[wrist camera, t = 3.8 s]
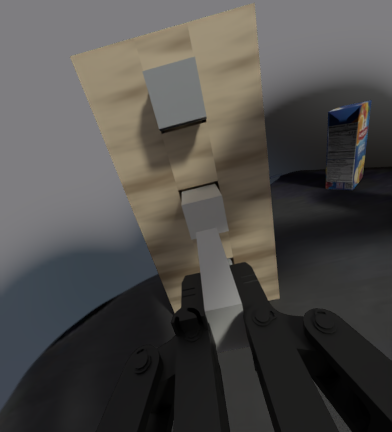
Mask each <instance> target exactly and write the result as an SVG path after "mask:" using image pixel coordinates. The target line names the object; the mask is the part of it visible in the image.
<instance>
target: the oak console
mask: <svg viewBox="0 0 392 432" xmlns="http://www.w3.org/2000/svg"><path fill="white" fill-rule="evenodd" d="M191 57H195V60H196V65H197V70H198V75H199V80H200V85H201V90H202V96H203V101H204V106H205V111H206V117H207V119H205V120H201V121H197V122H193V123H190V124H186V125H182V126H178V127H175V128H171V129H167V130H163V131H160V130H159V127H158V123H157V120H156V117H155V113H154V110H153V106H152V103H151V99H150V96H149V93H148V89H147V86H146V82H145V79H144V75H143V72H142V71H145V70H149V69H152V68H156V67H159V66H163V65H166V64H170V63H173V62H177V61H181V60H184V59H188V58H191ZM70 58H71V60H72V63H73V65H74V68H75V70H76V72H77V75H78V77H79V80H80V82H81V85H82V87H83V90H84V92H85V95H86V97H87V100H88V102H89V104H90V107H91V109H92V112H93V114H94V116H95V119H96V122H97V124H98V126H99V129H100V131H101V134H102V136H103V139H104V141H105V143H106V146H107V149H108V151H109V153H110V156H111V158H112V161H113V163H114V165H115V168H116V171H117V173H118V175H119V178H120V180H121V183H122V185H123V188H124V190H125V193H126V195H127V198H128V200H129V202H130V205H131V207H132V210H133V212H134V215H135V217H136V220H137V222H138V225H139V227H140V229H141V232H142V234H143V237H144V239H145V242H146V244H147V246H148V249H149V252H150V254H151V256H152V259H153V261H154V264H155V266H156V269H157V271H158V274H159V276H160V279H161V281H162V283H163V286H164V288H165V291H166V293H167V296H168V298H169V301H170V303H171V306H172V308H173V310H174V313H176V311H178V310H179V309H180V308H181V292H182V291H181V284H182V281H183V279H184V277H185V276H186V275H191V274H195V273H200V265H199V256H198V247H197V239H193V240H191V237H190V233H189V230H188V226H187V223H186V219H185V216H184V213H183V209H182V206H181V202H182V192H183V191H187V190H191V189H195V188H199V187H203V186H207V185H211V184H216V186H217V188H218V189H219V191H220V193H221V195H222V198H223V204H224V209H225V214H226V219H227V224H228V229H229V231H227V232H223V233H219V236H220V239H221V242H222V245H223V248H224V251H225V254H226V257H227V259H228V258H230V259H231V261H232V264H237V263H241V262H246V263H248V264H249V265H250V266H251V267H252V268H253V270H254V272H255V275H256V277H257V279H258V281H259V283H260V285H261V287H262V289H263V291H264V293H265V295H266V297H267V299H268V301H270V300H274V299H279V298H280V297H279V285H278V273H277V262H276V250H275V238H274V226H273V214H272V203H271V191H270V179H269V167H268V155H267V144H266V133H265V120H264V109H263V98H262V97H263V96H262V85H261V73H260V61H259V49H258V37H257V26H256V14H255V3H253V4H249V5H245V6H242V7H238V8H235V9H232V10H228V11H225V12H221V13H218V14H215V15H211V16H207V17H204V18H201V19H197V20H194V21H190V22H187V23H183V24H180V25H176V26H173V27H170V28H166V29H163V30H159V31H156V32H152V33H149V34H145V35H142V36H139V37H135V38H132V39H128V40H125V41H122V42H118V43H114V44H111V45H108V46H104V47H101V48H97V49H94V50H90V51H87V52H84V53H80V54H77V55H73V56H70Z"/></svg>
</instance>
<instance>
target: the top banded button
mask: <svg viewBox="0 0 392 432" xmlns="http://www.w3.org/2000/svg"><path fill="white" fill-rule="evenodd" d="M142 72H143V75H144V79H145V82H146V86H147V89H148V93H149V96H150V99H151V103H152V106H153V110H154V113H155V117H156V120H157V123H158V127H159V130H160V131H163V130H167V129H171V128H175V127H178V126H182V125H186V124H190V123H193V122H197V121H201V120H205V119H207V117H206V111H205V106H204V101H203V96H202V90H201V85H200V80H199V75H198V70H197V65H196V60H195V57H191V58H188V59H184V60H181V61H177V62H173V63H170V64H166V65H163V66H159V67H156V68H152V69H149V70H145V71H142Z"/></svg>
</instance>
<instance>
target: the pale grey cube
mask: <svg viewBox="0 0 392 432" xmlns="http://www.w3.org/2000/svg"><path fill="white" fill-rule="evenodd" d="M181 206H182V209H183V213H184V216H185V219H186V223H187V226H188V230H189V233H190V237H191V240H193V239H197V238H196V232H200V231H205V230H209V229H213V228H217V230H218V233H223V232H227V231H229V229H228V224H227V219H226V214H225V209H224V204H223V198H222V195H221V193H220V191H219V189H218V188H217V186H216V184H211V185H207V186H203V187H199V188H195V189H191V190H187V191H183V192H182V202H181Z"/></svg>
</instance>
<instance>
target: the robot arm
mask: <svg viewBox="0 0 392 432" xmlns="http://www.w3.org/2000/svg"><path fill="white" fill-rule="evenodd" d="M196 238H197V247H198V256H199V265H200V273H195V274H191V275H186V276H185V277H184V279H183V281H182V284H181V291H182V292H181V308H180V309H179V310H178V311H176V313H175V314H174V316H173V317H172V321H171V324H172V327H173V329H174V332H175V334H176V335H175V336H174V337H173V338H172V339H171V340H170V341H168V342H167V343H165V344H163V345H161V346H160V347H158V348H155V346H152V345H143V346H141V347H139V348H138V349H136V350H135V351H134V352H133V353H132V354H131V355H130V357H129V359H128V360H127V362H126V364H125V367H124V369H123V371H122V373H121V376H120V378H119V380H118V382H117V385H116V387H115V389H114V391H113V394H112V396H111V398H110V400H109V403H108V405H107V407H106V409H105V412H104V414H103V416H102V418H101V421H100V423H99V425H98V427H97V430H96V432H171V430H172V425H173V420H174V427H173V432H230V427H229V421H228V414H227V408H226V401H225V395H224V388H223V382H222V375H221V369H220V365H219V362H218V356H217V353H221V352H225V351H230V350H235V349H240V348H245V347H250V348H251V351H252V355H253V361H254V366H255V371H257V374H258V378H259V381H260V384H261V388H262V391H263V394H264V398H265V401H266V404H267V408H268V411H269V414H270V418H271V421H272V425H273V428H274V431H275V432H339V431H338V429H337V427H336V425H335V423H334V421H333V419H332V417H331V415H330V413H329V411H328V409H327V407H326V405H325V403H324V401H323V399H322V397H321V396H320V394H319V392H318V390H317V388H316V386H315V384H314V382H315V383H316V384H317V386H318V387H319V388H320V390H321V391H322V392H323V394H324V395H325V396H326V398H327V399H328V400H329V402H330V403H331V404H332V406H333V407H334V408H335V410H336V411H337V412H338V414H339V415H340V416H341V418H342V419H343V420H344V422H345V423H346V424H347V426H348V427H349V428H350V430H351V431H352V432H392V361H391V360H390V359H389V358H388V357H386V356H385V355H384V354H383V353H382V352H380V351H379V350H378V349H377V348H376V347H375V346H373V345H372V344H371V343H370V342H369V341H367V340H366V339H365V338H364V337H363V336H362V335H360V334H359V333H358V332H357V331H356V330H354V329H353V328H352V327H351V326H350V325H349V324H347V323H346V322H345V321H344V320H343V319H341V318H340V317H339V316H338V315H336V314H334V313H333V312H331V311H328V310H325V309H318V308H315V309H311V310H309V311H308V312H306V313H305V315H304V317H303V316H291V315H286V314H283V313H280V312H279V311H277V310H275V309H274V308H273V307H272V306H271V304H270V303H269V301H268V299H267V297H266V295H265V293H264V291H263V289H262V287H261V285H260V283H259V281H258V279H257V277H256V275H255V272H254V270H253V268H252V267H251V266H250V265H249V264H248V263H246V262H241V263H237V264H233V265H229V263H228V260H227V257H226V254H225V251H224V248H223V245H222V242H221V239H220V236H219V233H218V230H217V228H213V229H209V230H205V231H200V232H196ZM312 379H313V380H314V382H313V380H312Z"/></svg>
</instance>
